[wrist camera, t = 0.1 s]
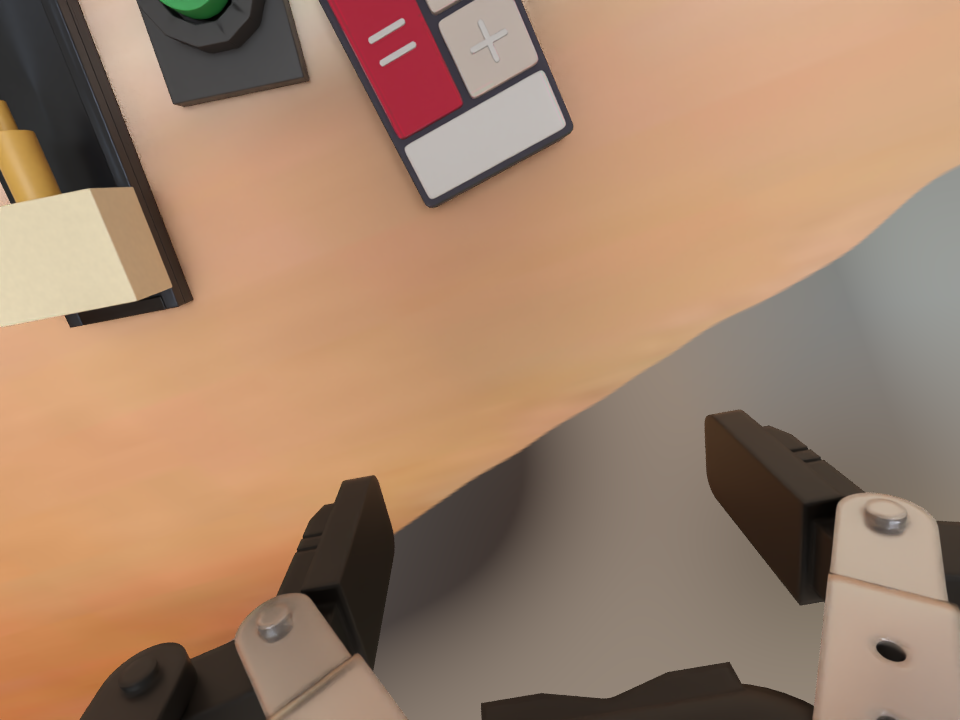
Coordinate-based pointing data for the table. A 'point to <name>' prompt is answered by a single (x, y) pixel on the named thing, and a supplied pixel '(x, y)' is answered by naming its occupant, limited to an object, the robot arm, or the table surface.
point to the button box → (225, 49)
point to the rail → (77, 124)
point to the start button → (197, 7)
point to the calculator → (453, 86)
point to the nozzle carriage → (67, 240)
